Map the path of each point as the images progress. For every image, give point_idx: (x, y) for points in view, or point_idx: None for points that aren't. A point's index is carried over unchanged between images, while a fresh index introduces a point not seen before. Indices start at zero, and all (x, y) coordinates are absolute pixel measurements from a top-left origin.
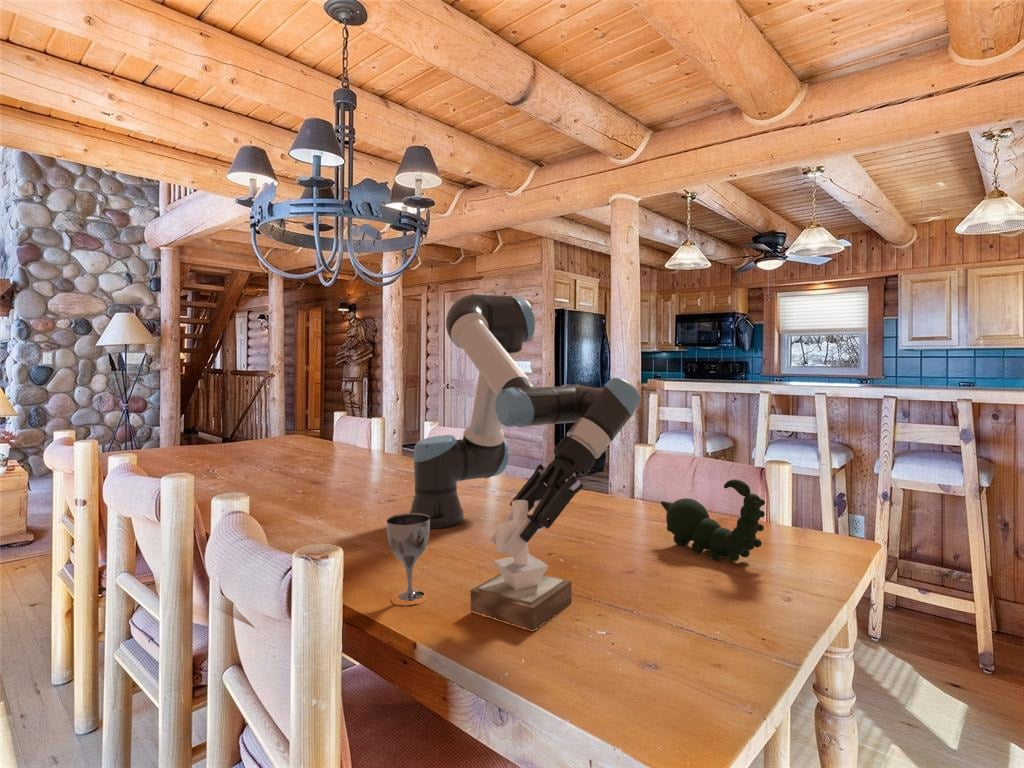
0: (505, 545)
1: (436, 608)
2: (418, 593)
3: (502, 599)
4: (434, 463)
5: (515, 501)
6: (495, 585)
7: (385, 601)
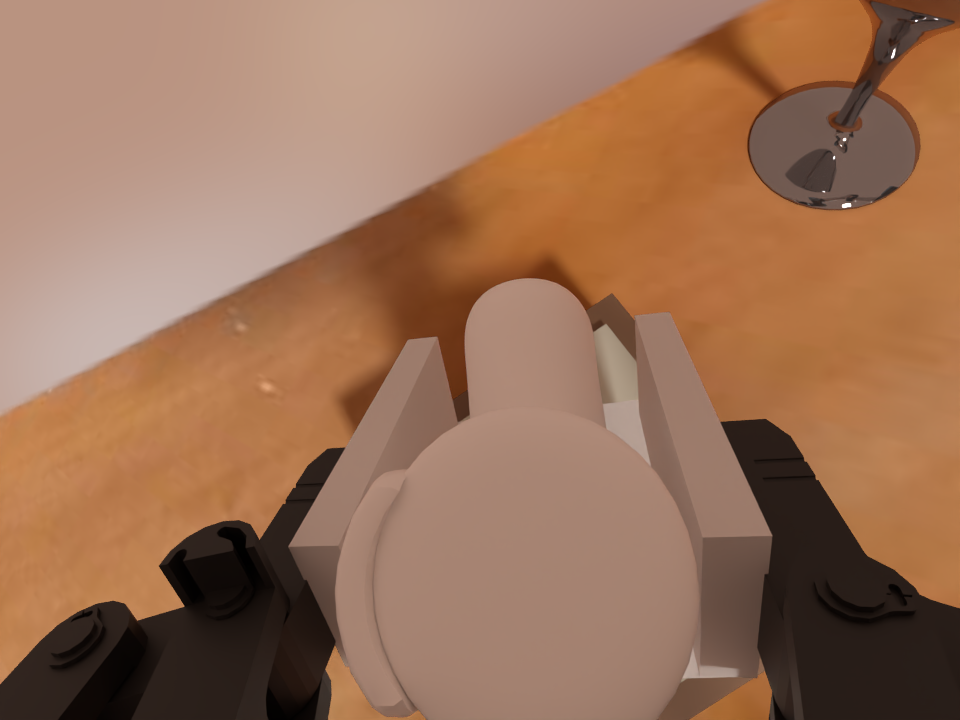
0: (424, 350)
1: (694, 222)
2: (837, 164)
3: (467, 390)
4: None
5: (511, 469)
6: (602, 402)
7: (823, 66)
